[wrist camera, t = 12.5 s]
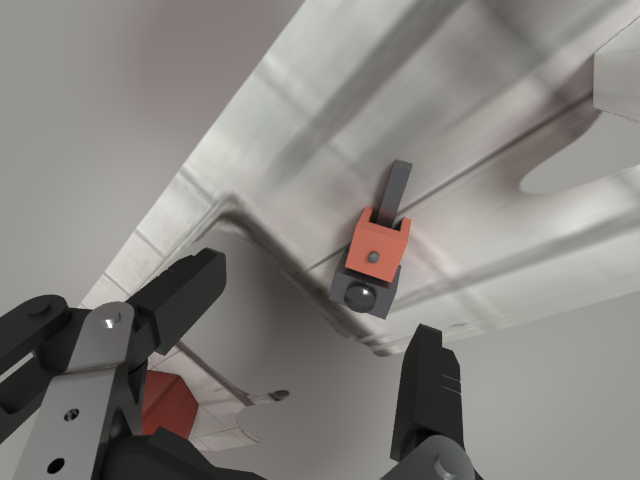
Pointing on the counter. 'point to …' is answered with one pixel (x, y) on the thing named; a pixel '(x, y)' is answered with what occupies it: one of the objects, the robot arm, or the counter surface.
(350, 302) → the coupler
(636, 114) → the jar
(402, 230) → the notched red block
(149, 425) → the plant pot
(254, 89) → the counter surface
